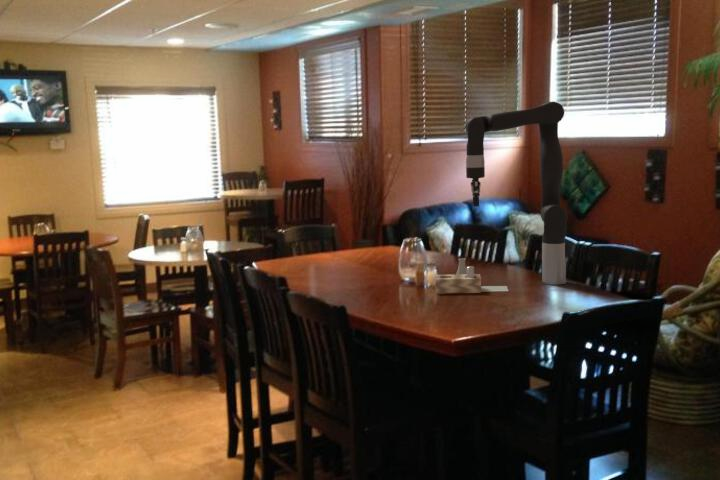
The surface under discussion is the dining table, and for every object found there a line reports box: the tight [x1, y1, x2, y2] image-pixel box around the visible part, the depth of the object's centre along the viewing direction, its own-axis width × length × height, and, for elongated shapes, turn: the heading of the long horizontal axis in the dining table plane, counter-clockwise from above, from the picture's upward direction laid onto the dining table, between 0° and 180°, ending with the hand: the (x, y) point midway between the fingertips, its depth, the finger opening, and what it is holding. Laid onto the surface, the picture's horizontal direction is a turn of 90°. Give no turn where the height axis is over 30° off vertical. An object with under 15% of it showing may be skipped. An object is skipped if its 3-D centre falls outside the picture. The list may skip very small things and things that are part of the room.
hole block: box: [435, 273, 482, 295], centre depth 293 cm, size 18×10×6 cm, turn 83°
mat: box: [481, 285, 509, 293], centre depth 294 cm, size 12×10×1 cm
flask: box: [456, 257, 467, 274], centre depth 312 cm, size 7×7×10 cm
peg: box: [466, 265, 475, 278], centre depth 292 cm, size 3×3×10 cm
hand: (475, 205), depth 298 cm, fingers open, 8 cm apart
